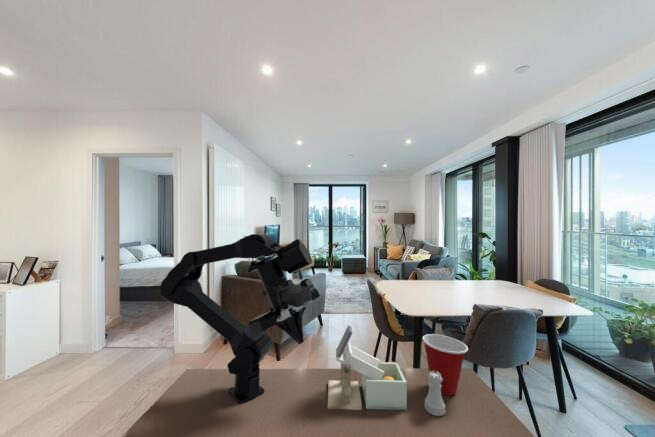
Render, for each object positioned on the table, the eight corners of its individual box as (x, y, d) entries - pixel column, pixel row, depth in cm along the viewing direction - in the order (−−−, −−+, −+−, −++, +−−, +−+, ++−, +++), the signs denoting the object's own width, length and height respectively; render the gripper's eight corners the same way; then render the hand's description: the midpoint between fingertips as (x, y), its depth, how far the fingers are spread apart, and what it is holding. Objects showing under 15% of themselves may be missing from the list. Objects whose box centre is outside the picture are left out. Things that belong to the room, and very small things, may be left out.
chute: (336, 360, 62) (349, 332, 62) (336, 349, 68) (348, 324, 68) (379, 382, 62) (392, 355, 62) (375, 369, 67) (387, 344, 68)
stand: (327, 409, 59) (328, 367, 60) (328, 383, 70) (329, 347, 70) (361, 410, 59) (362, 368, 60) (357, 384, 69) (358, 348, 70)
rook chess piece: (436, 419, 57) (436, 380, 57) (419, 407, 61) (419, 371, 61) (450, 413, 59) (450, 376, 59) (433, 402, 63) (433, 366, 63)
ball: (403, 383, 64) (396, 399, 64) (390, 372, 67) (383, 386, 67) (395, 385, 62) (387, 401, 61) (381, 372, 65) (374, 388, 64)
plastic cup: (475, 405, 62) (474, 352, 62) (425, 398, 64) (425, 347, 64) (461, 380, 72) (461, 334, 73) (419, 375, 74) (419, 331, 75)
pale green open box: (366, 408, 60) (366, 380, 60) (361, 385, 69) (362, 361, 69) (406, 410, 60) (406, 382, 60) (397, 386, 69) (397, 362, 69)
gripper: (261, 287, 53) (293, 363, 51) (320, 260, 67) (347, 318, 65) (235, 300, 60) (262, 367, 58) (294, 272, 74) (317, 326, 72)
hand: (301, 343), depth 63 cm, fingers closed
